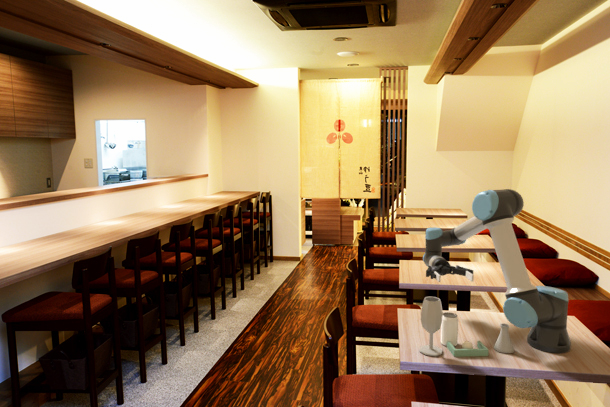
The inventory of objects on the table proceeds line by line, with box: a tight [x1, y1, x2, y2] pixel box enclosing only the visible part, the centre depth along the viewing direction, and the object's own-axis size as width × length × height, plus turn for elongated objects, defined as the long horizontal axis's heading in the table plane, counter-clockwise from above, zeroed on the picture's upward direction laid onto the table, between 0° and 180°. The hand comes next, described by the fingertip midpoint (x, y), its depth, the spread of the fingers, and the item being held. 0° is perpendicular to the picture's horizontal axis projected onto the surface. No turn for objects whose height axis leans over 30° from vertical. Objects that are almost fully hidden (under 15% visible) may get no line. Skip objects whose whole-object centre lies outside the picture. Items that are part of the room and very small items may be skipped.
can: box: [440, 312, 459, 347], centre depth 177 cm, size 6×6×12 cm
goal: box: [446, 340, 489, 358], centre depth 171 cm, size 8×13×2 cm, turn 91°
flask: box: [493, 323, 515, 354], centre depth 172 cm, size 7×7×10 cm
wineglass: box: [419, 296, 444, 357], centre depth 170 cm, size 9×9×21 cm
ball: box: [461, 340, 474, 349], centre depth 171 cm, size 4×4×4 cm
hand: (456, 278), depth 181 cm, fingers open, 13 cm apart
